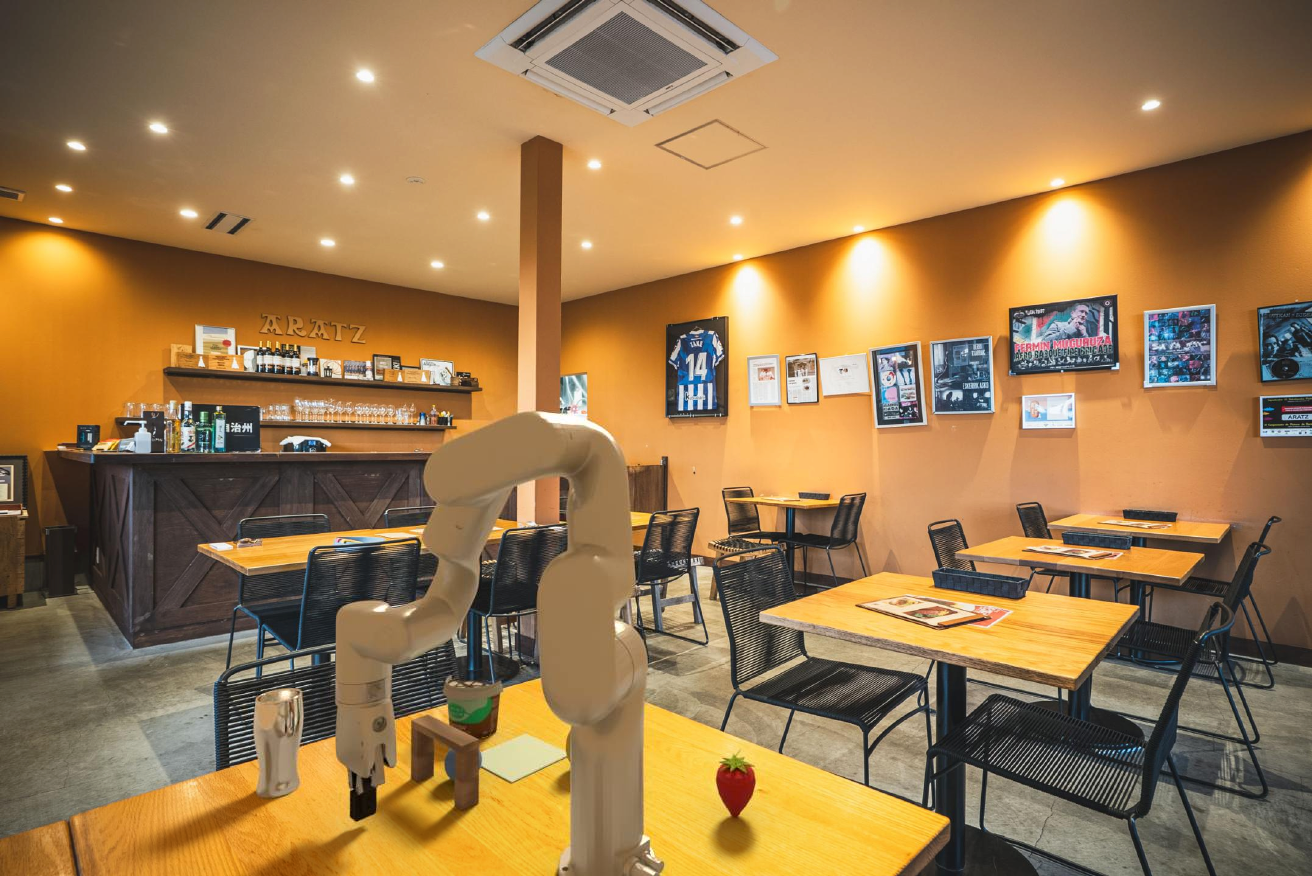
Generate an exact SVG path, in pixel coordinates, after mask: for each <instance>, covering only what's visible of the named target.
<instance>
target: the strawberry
mask: <svg viewBox="0 0 1312 876" xmlns="http://www.w3.org/2000/svg"><path fill="white" fill-rule="evenodd" d="M741 751H742V749H739V750H738V752H737V753H736V754H734V753H733V754H732V757H731V758H729V757H722V760H721V761H720V760H719V761H718V764H719V763H720V764H721V765H720V766H719V767H718V768H717V771H716V776H715V785H716V789H717V792H718V795H719V797H720V799H721V801H722V803H723V804H724V806H725V808H726V809H727V811H728V812H729V814H730V816H731V817H733V818H738V817H739V816H740V815H741V813H742V811H744V809H745V808H747V805H748V804H749V802H750V800H751V799H752V797H753V795H754V791H755V787H756V783H757V781H756V774H755V771H754V769H753V768H755V767H756V766H755V765H754V764H752V763H750V762H747V761H745V758H746V757H745V756H742V757H737V756H738V755H739V753H740V752H741ZM752 767H753V768H752Z"/></svg>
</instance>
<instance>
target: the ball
mask: <svg viewBox="0 0 1312 876" xmlns="http://www.w3.org/2000/svg"><path fill="white" fill-rule="evenodd" d="M481 752H482V751H481V750H480V749H479V771H480V770H481V768H482V767H481V764H482V755H481ZM443 763H444V766H443V767H444V771H445V773H446V775H447V777H448V778H450V780H452V781H454V782H455V750H453V749H451V748H449V750H448V752H447V753H446V755H445V758H444V762H443Z"/></svg>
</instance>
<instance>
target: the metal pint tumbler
mask: <svg viewBox="0 0 1312 876" xmlns="http://www.w3.org/2000/svg"><path fill="white" fill-rule="evenodd" d="M303 702H304V701H303V691H302V689H300V688H292V687H290V688H289V687H288V688H279V689H274V690H270V691H266V692H264V693H262V694H260V695H258V696H256V698H255V705H254V713H253V714H254V715H253V740H254V746H255V751H256V756H257V760H258V770H259V771H258V772H259V773H258V780H257V785H256V788H255V789H256V790H255V795H256V796H257V797H258V798H260V799H264V798H267V799H268V798H270V799H276V798H280V797H281V798H282V797H284V796H287V795H289V794H291V793H293V792H295V791H296V790H297V789H298V788H299V787H300V783H301V782H300V776H299V772H298V755H299V750H300V747H301V740H302V735H303V727H304V703H303Z"/></svg>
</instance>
